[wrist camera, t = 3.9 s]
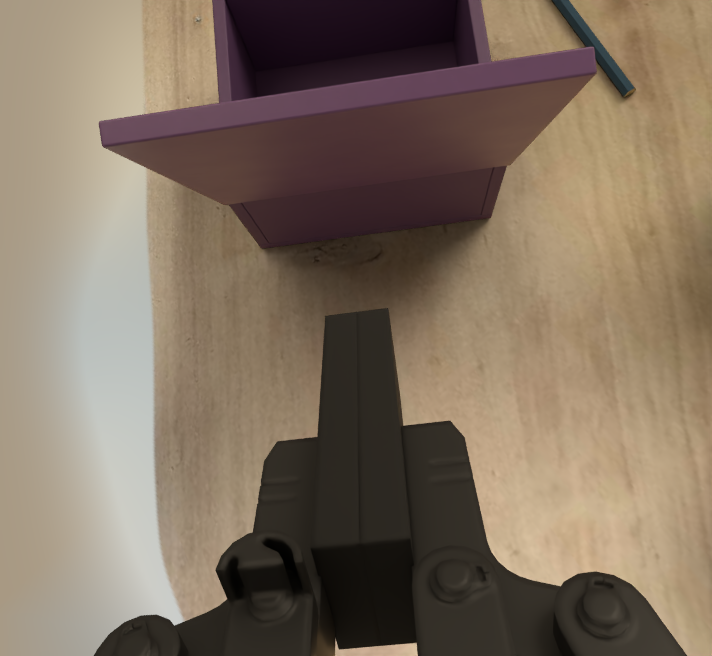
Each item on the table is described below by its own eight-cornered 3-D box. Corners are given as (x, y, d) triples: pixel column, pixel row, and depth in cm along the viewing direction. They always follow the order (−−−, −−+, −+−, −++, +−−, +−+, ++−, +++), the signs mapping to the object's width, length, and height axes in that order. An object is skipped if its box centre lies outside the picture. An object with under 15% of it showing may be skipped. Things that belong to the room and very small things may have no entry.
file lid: (97, 120, 21) (101, 147, 21) (594, 45, 20) (597, 73, 20) (221, 189, 37) (224, 205, 37) (509, 149, 36) (510, 165, 36)
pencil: (622, 99, 46) (512, -49, 49) (633, 93, 46) (523, -55, 49) (625, 93, 45) (513, -58, 48) (637, 86, 45) (524, -64, 48)
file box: (247, 70, 49) (211, -12, 40) (462, 37, 48) (472, -55, 39) (261, 249, 46) (225, 201, 37) (491, 218, 45) (508, 161, 36)
